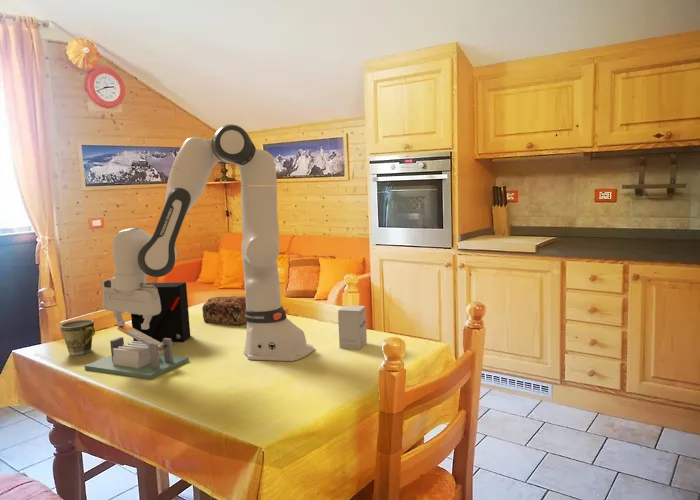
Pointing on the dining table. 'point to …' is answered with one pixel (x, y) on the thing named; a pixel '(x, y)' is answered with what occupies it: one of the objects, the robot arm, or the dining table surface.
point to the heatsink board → (138, 359)
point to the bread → (225, 310)
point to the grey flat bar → (140, 336)
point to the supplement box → (352, 327)
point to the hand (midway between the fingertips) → (133, 327)
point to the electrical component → (168, 314)
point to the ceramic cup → (78, 336)
